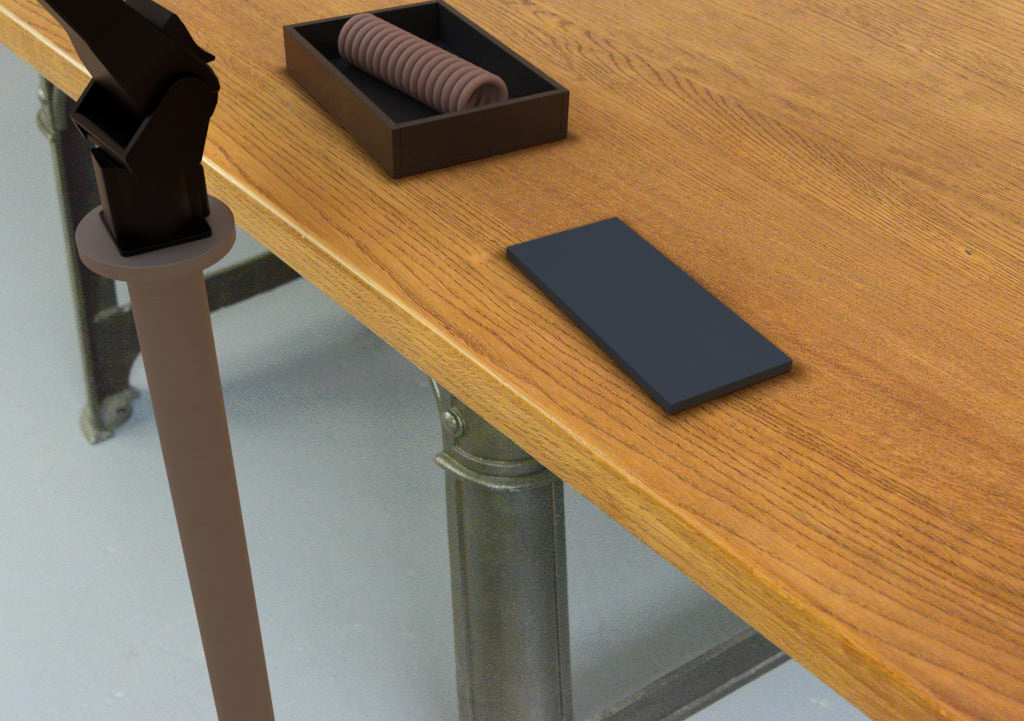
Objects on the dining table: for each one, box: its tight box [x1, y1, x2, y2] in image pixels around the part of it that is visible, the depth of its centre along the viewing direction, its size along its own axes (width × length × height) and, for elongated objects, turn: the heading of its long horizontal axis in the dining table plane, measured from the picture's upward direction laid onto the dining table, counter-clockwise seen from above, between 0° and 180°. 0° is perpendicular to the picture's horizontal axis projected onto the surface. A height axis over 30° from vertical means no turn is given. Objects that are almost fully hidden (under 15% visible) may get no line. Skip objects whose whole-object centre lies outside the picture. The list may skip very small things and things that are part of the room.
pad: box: [505, 216, 794, 416], centre depth 74 cm, size 9×19×1 cm, turn 30°
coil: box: [338, 13, 508, 114], centre depth 96 cm, size 5×5×18 cm
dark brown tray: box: [282, 0, 571, 180], centre depth 96 cm, size 15×22×4 cm
